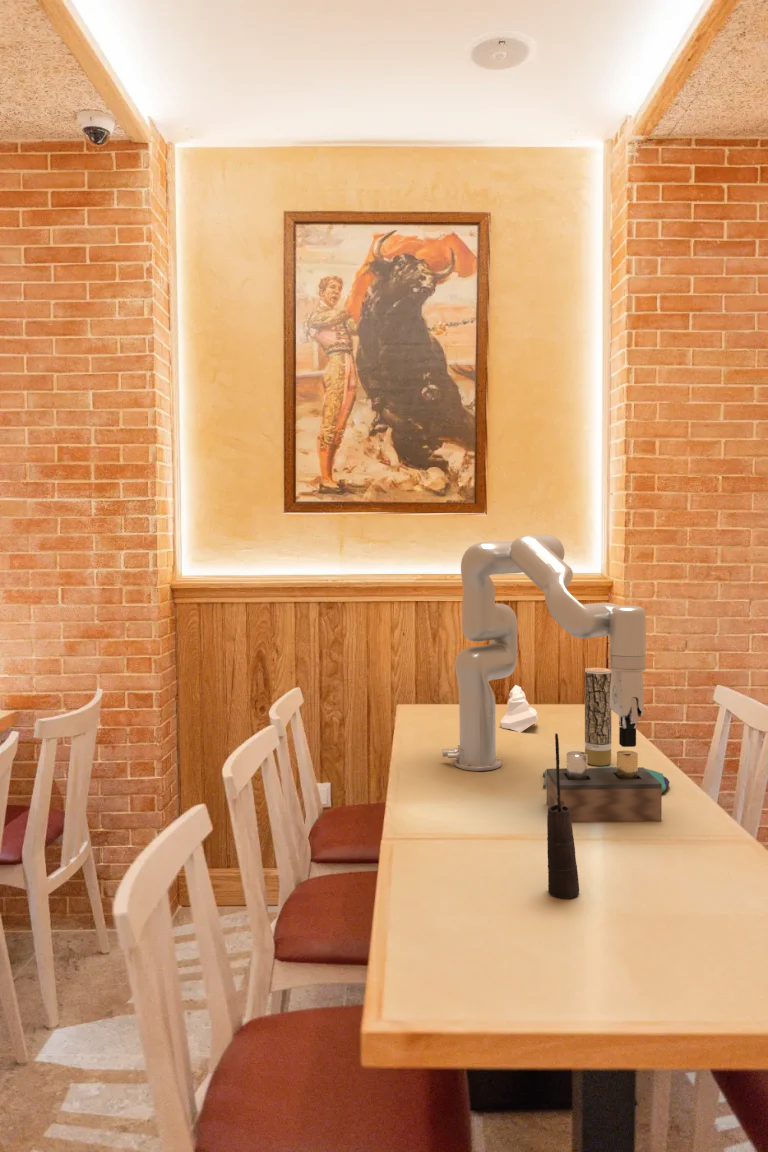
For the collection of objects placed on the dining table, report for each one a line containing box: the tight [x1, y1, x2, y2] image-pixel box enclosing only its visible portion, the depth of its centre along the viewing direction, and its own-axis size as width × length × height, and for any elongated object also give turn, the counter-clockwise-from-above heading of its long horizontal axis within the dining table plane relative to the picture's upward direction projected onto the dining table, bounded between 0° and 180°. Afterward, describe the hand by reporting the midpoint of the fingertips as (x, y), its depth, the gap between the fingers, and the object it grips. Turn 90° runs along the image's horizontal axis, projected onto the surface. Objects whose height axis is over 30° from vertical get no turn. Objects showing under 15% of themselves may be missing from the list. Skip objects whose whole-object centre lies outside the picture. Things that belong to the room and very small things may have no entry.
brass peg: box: [616, 750, 639, 779], centre depth 177 cm, size 4×4×7 cm
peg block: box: [546, 766, 663, 823], centre depth 177 cm, size 22×12×8 cm, turn 90°
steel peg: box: [566, 750, 588, 780], centre depth 177 cm, size 4×4×7 cm
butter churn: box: [546, 732, 580, 900], centre depth 138 cm, size 9×10×28 cm
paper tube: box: [584, 667, 612, 767], centre depth 213 cm, size 7×7×25 cm
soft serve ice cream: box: [500, 684, 539, 733], centre depth 254 cm, size 12×15×14 cm
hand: (627, 745), depth 176 cm, fingers closed
